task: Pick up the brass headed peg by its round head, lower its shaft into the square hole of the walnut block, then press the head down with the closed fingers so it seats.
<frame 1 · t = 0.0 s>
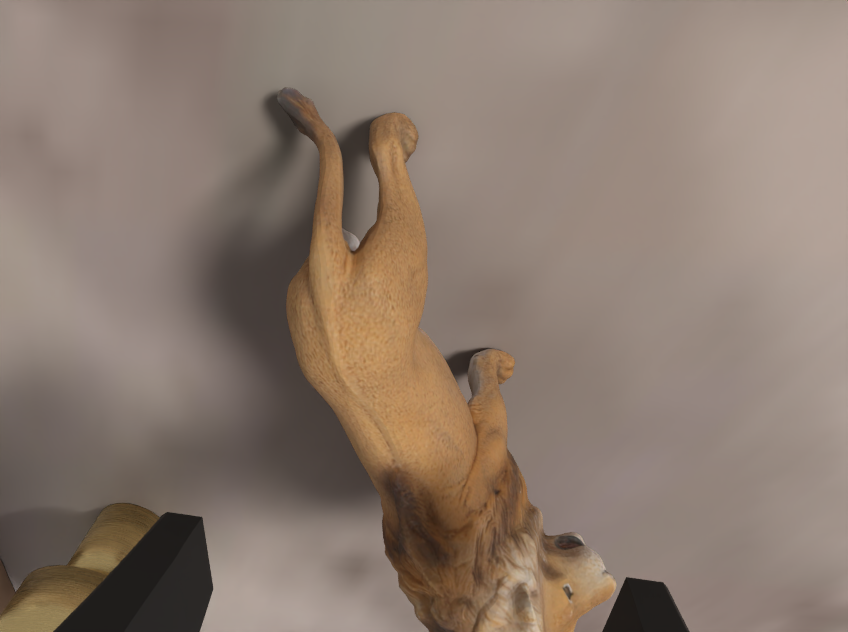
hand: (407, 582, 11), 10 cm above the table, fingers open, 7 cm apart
lion figurine: (444, 304, 20), on the table
brass peg: (134, 526, 28), on the table
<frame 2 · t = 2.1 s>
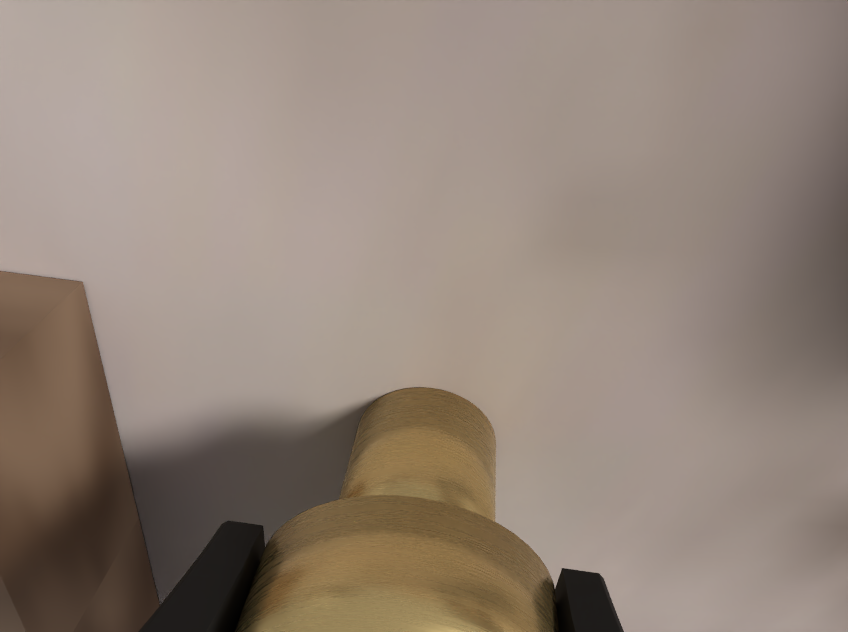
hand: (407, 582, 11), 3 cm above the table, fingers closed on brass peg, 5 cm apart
brass peg: (426, 441, 14), on the table, touching gripper
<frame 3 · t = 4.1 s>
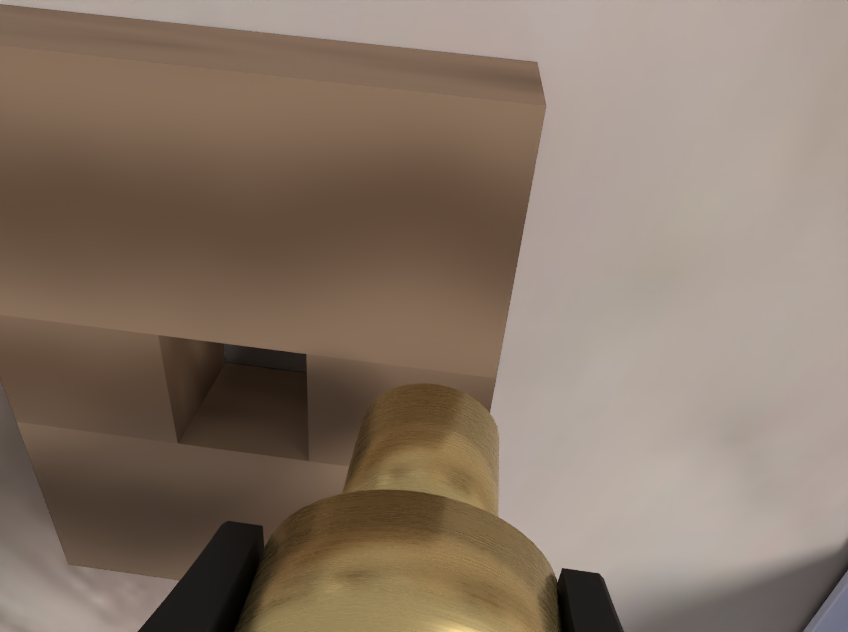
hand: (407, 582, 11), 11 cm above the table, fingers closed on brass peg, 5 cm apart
walnut block: (278, 322, 21), on the table
brass peg: (429, 437, 14), point 7 cm above the table, touching gripper
when the fingers open (5 cm above the table, at t = 6.1 s): brass peg stays where it is, resting on walnut block.
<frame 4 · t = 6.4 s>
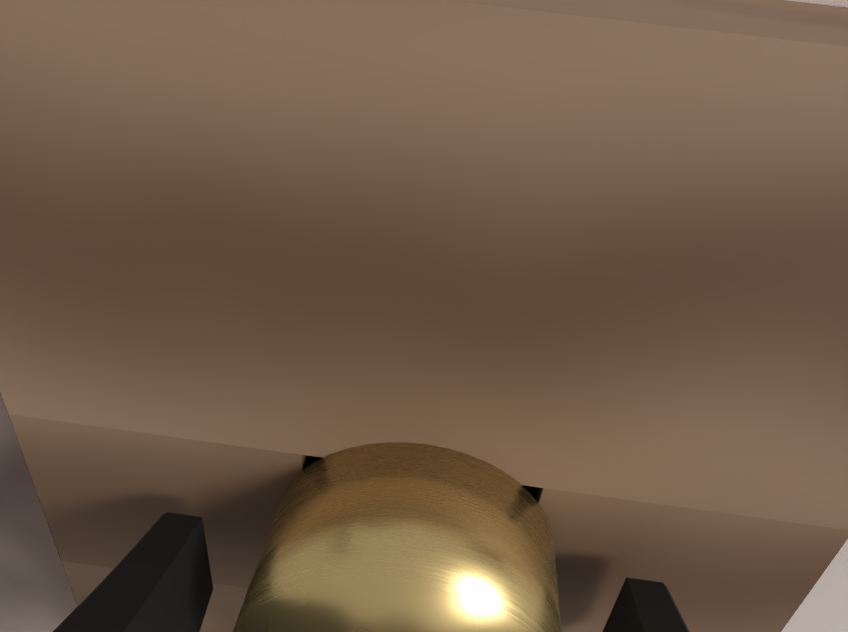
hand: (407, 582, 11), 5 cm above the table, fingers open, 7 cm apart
walnut block: (431, 402, 15), on the table
brass peg: (431, 407, 15), resting on walnut block
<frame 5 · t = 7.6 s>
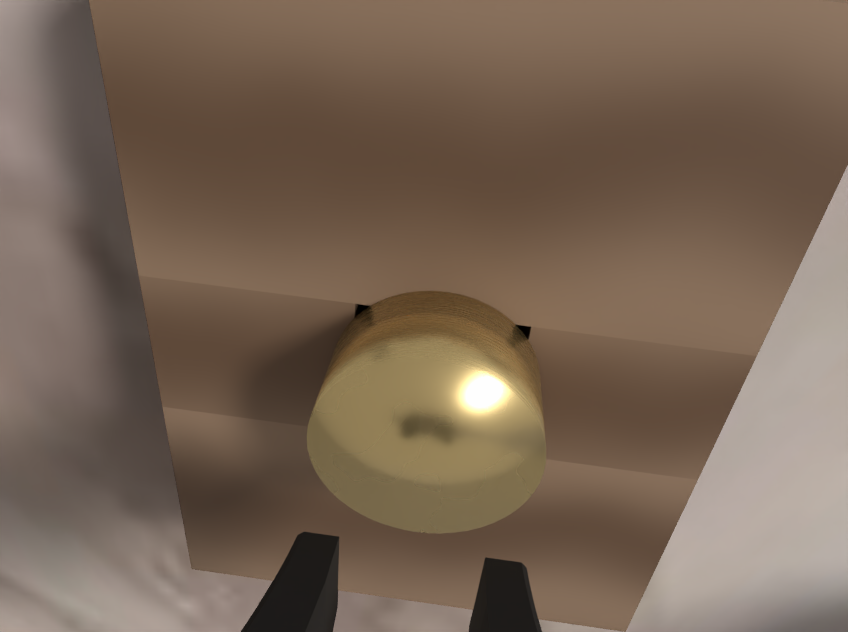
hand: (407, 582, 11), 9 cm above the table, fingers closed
walnut block: (445, 297, 19), on the table
brass peg: (445, 298, 19), resting on walnut block
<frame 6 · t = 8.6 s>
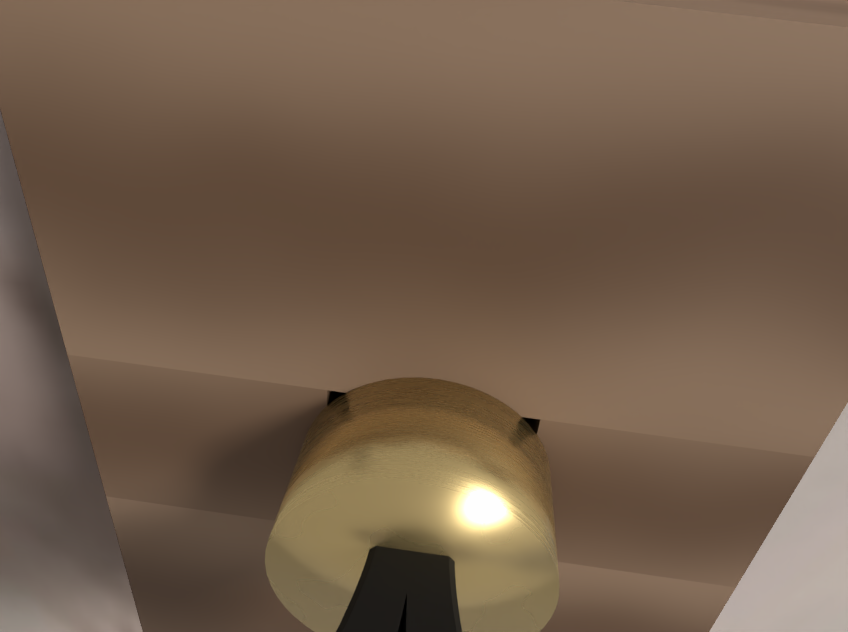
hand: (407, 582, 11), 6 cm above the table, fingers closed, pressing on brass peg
walnut block: (439, 359, 16), on the table
brass peg: (439, 363, 16), resting on walnut block, touching gripper
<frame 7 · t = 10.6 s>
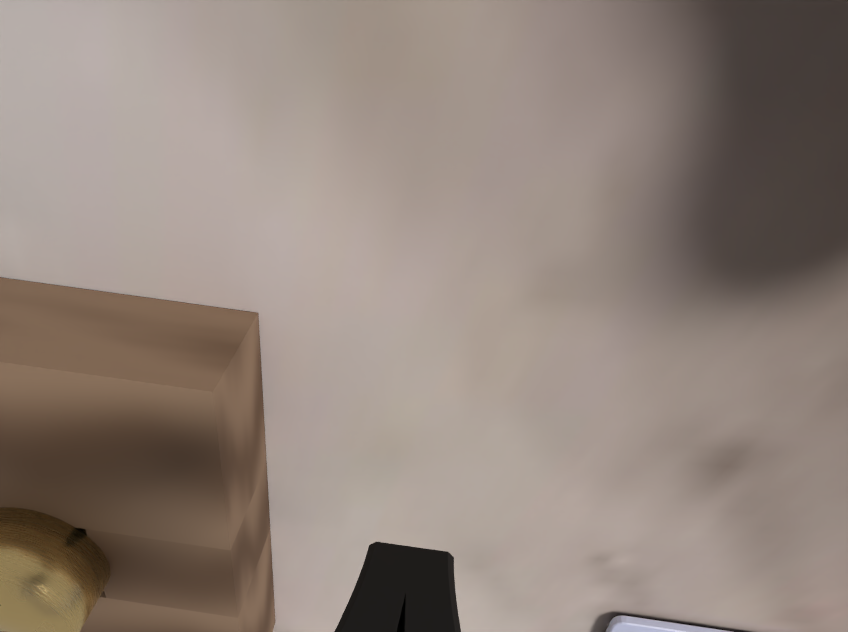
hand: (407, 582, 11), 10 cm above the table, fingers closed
walnut block: (99, 472, 26), on the table
brass peg: (95, 476, 26), resting on walnut block
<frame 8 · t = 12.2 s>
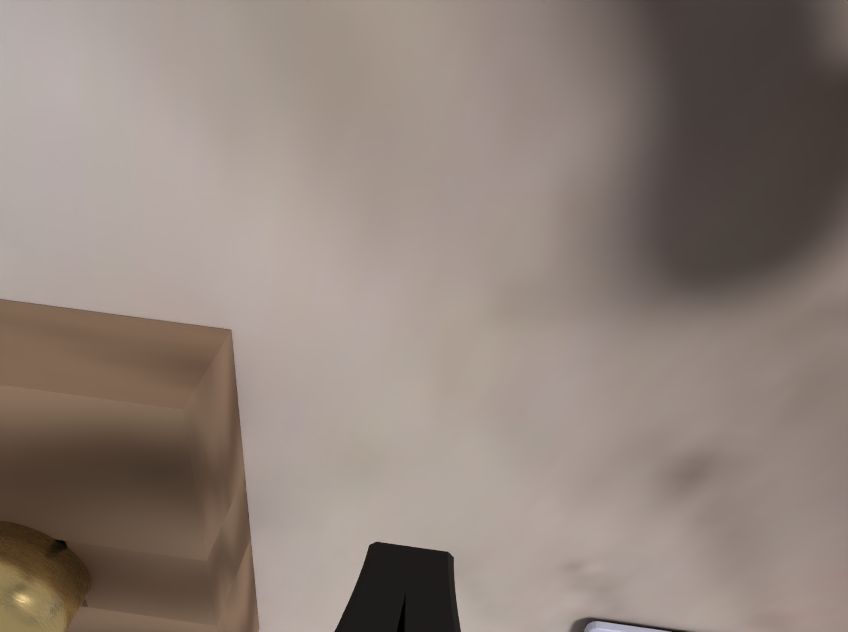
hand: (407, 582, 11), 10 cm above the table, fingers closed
walnut block: (82, 484, 27), on the table
brass peg: (78, 487, 27), resting on walnut block
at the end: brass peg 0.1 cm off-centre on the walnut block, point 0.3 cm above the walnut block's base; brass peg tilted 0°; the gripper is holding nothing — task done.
